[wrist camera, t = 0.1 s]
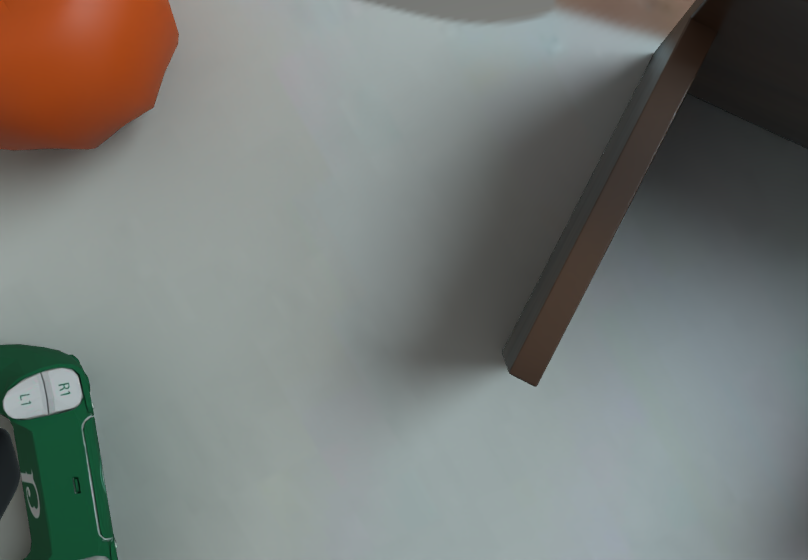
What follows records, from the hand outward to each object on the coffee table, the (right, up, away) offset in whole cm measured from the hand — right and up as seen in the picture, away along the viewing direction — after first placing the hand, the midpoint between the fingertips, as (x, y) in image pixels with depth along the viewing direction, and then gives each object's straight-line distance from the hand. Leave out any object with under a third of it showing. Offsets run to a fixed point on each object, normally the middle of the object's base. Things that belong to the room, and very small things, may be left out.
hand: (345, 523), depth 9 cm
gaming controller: (-11, -3, +16) cm, 20 cm away
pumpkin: (-10, +10, +16) cm, 21 cm away
